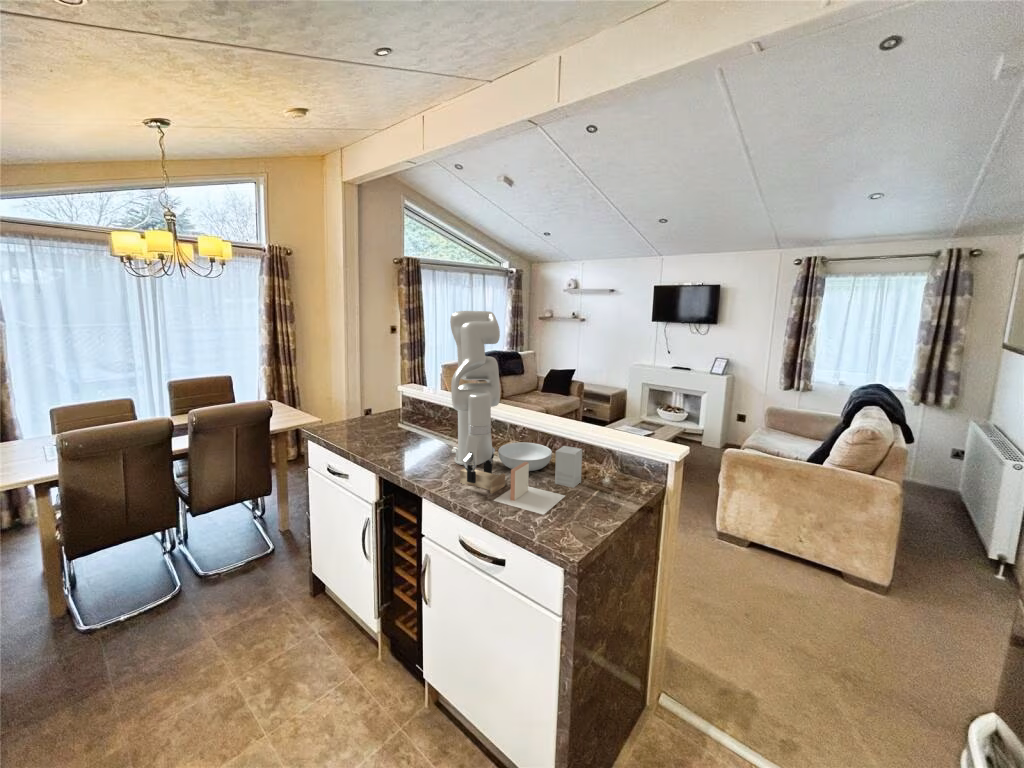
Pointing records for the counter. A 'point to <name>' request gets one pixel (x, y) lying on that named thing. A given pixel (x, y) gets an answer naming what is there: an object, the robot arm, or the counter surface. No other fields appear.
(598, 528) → the counter surface
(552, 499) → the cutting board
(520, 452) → the serving bowl
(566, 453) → the supplement box
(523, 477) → the tile
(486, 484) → the tall beige plank
